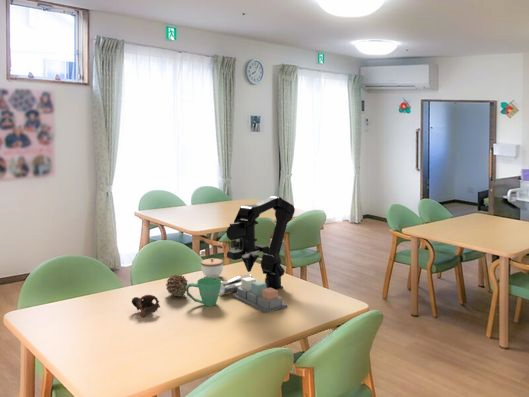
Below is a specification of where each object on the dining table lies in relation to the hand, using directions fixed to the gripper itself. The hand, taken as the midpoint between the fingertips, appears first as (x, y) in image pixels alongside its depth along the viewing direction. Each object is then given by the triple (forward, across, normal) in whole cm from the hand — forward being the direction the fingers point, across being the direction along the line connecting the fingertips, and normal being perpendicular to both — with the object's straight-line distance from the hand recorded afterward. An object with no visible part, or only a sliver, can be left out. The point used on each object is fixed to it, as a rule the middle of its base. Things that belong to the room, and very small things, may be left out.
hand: (248, 271), depth 218 cm
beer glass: (+8, +8, -10) cm, 15 cm away
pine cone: (+11, +23, -24) cm, 35 cm away
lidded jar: (+12, -3, -35) cm, 37 cm away
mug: (+11, +20, -4) cm, 23 cm away
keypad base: (+11, 0, +7) cm, 13 cm away
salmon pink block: (+9, 0, +15) cm, 17 cm away
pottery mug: (+11, +43, -11) cm, 45 cm away
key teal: (+8, 0, +7) cm, 11 cm away
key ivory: (+8, 0, 0) cm, 8 cm away
